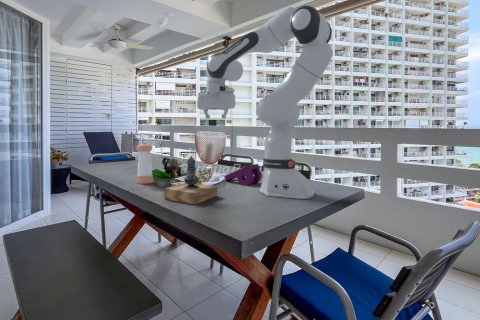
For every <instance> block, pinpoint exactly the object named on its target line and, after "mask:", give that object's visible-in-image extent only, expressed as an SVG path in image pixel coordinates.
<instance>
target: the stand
mask: <svg viewBox="0 0 480 320" xmlns="http://www.w3.org/2000/svg"><path fill="white" fill-rule="evenodd" d="M186 185H188V184H186V183H185V182H184V183H181V184H176V185H173V186H169V187H164V189H163V191H164V195H163V196H164V200H167V199H168V200H169V201H174V202H178V203H183V204H185V203H186V204H188V205H197V204H200V203H203V202H205V201H208V200H211V199H213V198H216V197H218V186H217V185H212V184H206V183H205V184H204V183H197V184H195V185H197V186H198V188H195V189H187V188H184V187H185V186H186Z"/></svg>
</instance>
